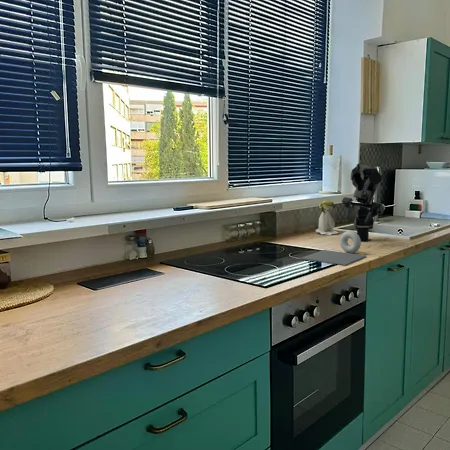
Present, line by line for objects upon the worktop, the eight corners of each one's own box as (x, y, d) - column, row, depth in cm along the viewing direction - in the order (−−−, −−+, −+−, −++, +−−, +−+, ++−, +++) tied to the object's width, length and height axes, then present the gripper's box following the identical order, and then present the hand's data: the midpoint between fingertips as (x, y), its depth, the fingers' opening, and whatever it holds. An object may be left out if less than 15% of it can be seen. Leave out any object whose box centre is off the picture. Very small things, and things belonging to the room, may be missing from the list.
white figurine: (319, 235, 241) (320, 202, 238) (312, 231, 254) (313, 199, 251) (341, 235, 242) (341, 201, 239) (333, 231, 255) (334, 199, 252)
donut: (362, 254, 196) (362, 231, 194) (357, 255, 194) (358, 232, 192) (342, 250, 203) (342, 229, 202) (337, 251, 201) (338, 230, 199)
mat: (324, 250, 203) (324, 249, 203) (366, 256, 190) (366, 255, 190) (301, 258, 188) (301, 257, 188) (345, 265, 175) (345, 264, 175)
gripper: (344, 180, 208) (331, 208, 204) (382, 185, 196) (369, 216, 192) (352, 193, 216) (339, 220, 212) (389, 198, 204) (376, 228, 200)
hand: (355, 221), depth 204 cm, fingers open, 9 cm apart
